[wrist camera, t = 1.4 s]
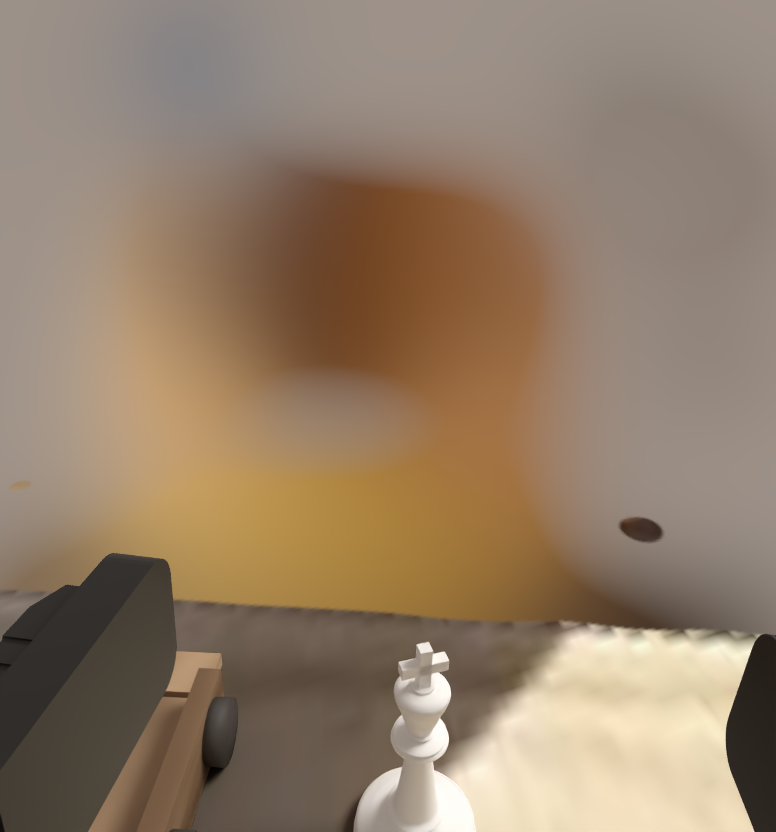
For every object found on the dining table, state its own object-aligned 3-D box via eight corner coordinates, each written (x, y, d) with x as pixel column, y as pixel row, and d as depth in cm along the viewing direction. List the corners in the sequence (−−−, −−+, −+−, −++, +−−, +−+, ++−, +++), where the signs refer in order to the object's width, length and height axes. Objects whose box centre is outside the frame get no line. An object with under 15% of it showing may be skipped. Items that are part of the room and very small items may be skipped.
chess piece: (340, 792, 29) (337, 612, 24) (448, 762, 30) (463, 587, 26) (372, 914, 25) (375, 724, 20) (496, 873, 26) (524, 687, 22)
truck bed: (256, 666, 35) (252, 622, 34) (173, 960, 23) (162, 911, 22) (35, 655, 35) (23, 611, 34) (-155, 939, 24) (-186, 889, 22)
